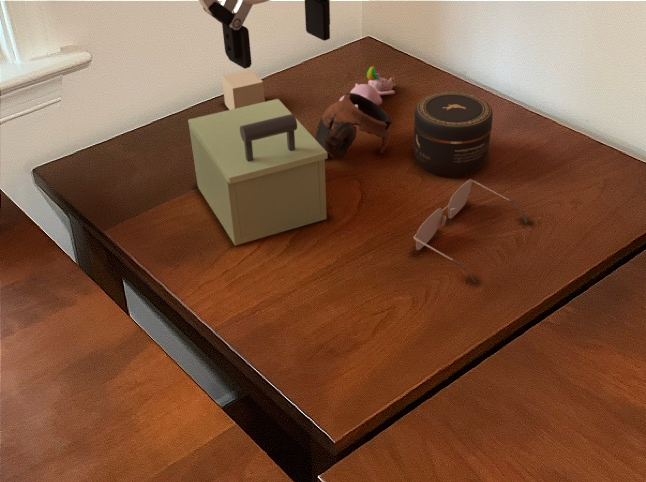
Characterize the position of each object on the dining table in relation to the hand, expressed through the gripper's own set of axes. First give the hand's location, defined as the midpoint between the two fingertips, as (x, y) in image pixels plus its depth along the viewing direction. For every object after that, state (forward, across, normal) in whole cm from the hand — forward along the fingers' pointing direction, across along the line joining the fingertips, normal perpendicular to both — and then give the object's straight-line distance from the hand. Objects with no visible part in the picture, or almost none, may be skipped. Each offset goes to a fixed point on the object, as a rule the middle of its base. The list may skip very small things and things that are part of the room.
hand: (280, 49), depth 82 cm
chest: (+23, -1, -7) cm, 24 cm away
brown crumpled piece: (+23, -17, -10) cm, 30 cm away
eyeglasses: (+23, -15, +15) cm, 31 cm away
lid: (+14, -1, -7) cm, 15 cm away
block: (+23, -13, -29) cm, 39 cm away
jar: (+23, -25, +1) cm, 34 cm away
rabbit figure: (+23, -27, -17) cm, 39 cm away
